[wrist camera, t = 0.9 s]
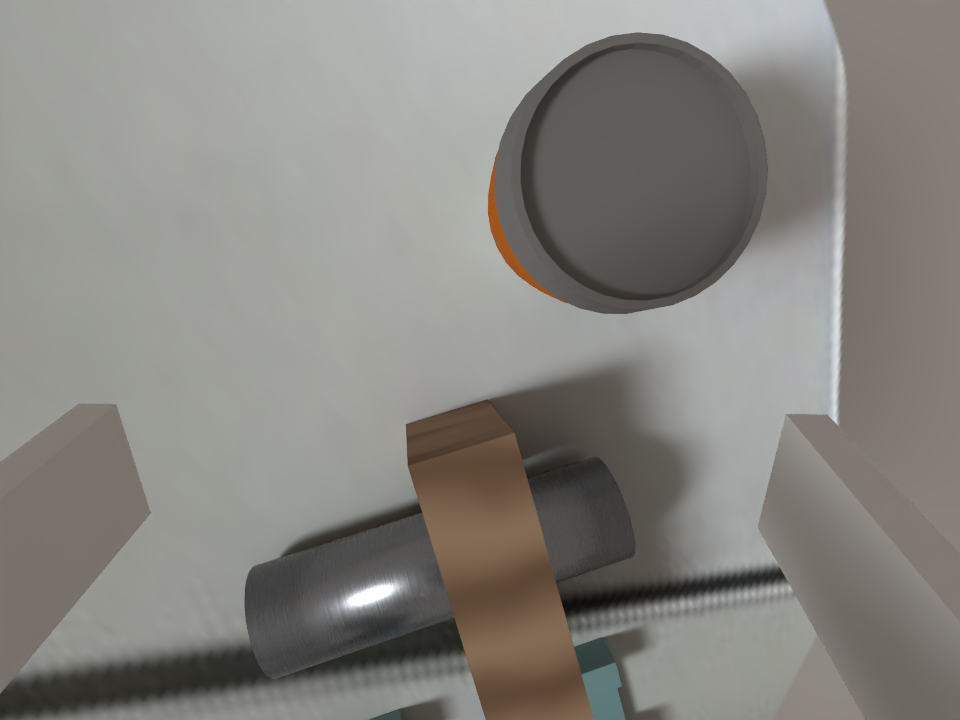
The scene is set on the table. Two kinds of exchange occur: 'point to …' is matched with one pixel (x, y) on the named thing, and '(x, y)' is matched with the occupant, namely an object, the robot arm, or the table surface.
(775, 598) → the table surface
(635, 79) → the reusable coffee cup
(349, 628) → the steel axle
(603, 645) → the v-blocks
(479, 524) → the brown wooden arched block
